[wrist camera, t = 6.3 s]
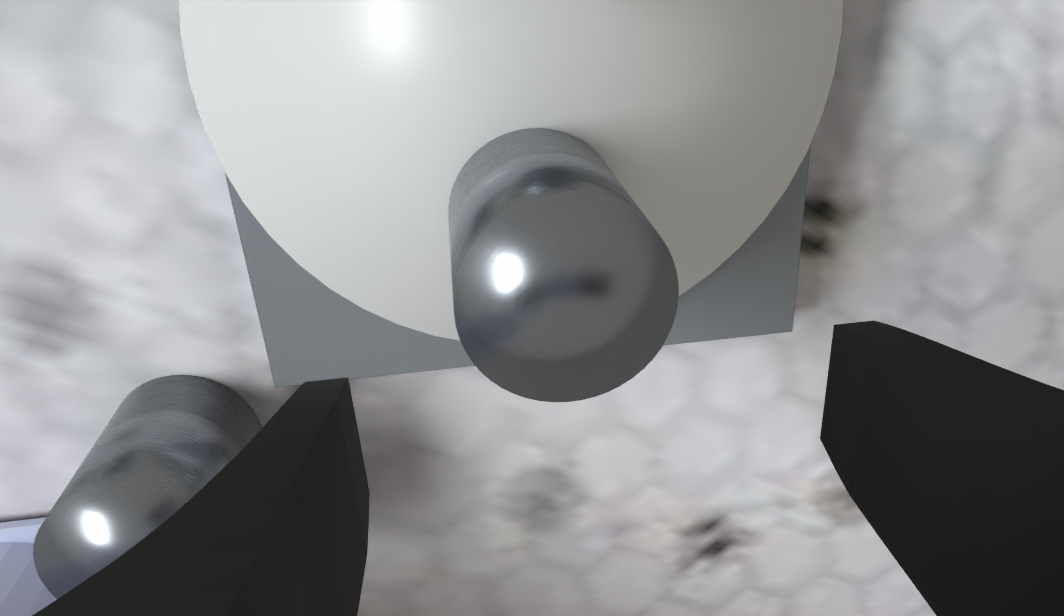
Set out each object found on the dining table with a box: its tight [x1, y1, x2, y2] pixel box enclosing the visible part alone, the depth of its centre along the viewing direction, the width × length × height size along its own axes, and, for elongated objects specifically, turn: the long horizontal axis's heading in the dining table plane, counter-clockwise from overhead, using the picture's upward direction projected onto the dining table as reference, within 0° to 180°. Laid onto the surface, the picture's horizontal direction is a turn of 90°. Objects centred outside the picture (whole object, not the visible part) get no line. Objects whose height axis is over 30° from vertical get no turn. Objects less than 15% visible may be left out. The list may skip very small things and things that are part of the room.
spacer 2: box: [448, 128, 679, 402], centre depth 16 cm, size 4×4×5 cm
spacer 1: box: [33, 375, 261, 599], centre depth 20 cm, size 4×4×5 cm
